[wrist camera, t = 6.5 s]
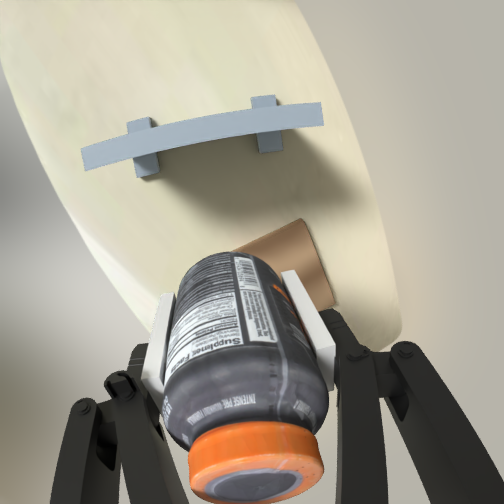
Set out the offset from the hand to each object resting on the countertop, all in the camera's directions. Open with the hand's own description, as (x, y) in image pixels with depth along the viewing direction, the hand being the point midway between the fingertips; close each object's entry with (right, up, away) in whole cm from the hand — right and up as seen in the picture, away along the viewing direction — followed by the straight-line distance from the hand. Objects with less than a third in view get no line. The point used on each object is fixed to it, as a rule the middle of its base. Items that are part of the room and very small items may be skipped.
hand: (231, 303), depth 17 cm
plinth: (+4, -1, +20) cm, 20 cm away
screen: (-4, +15, +13) cm, 20 cm away
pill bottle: (0, 0, 0) cm, 1 cm away
